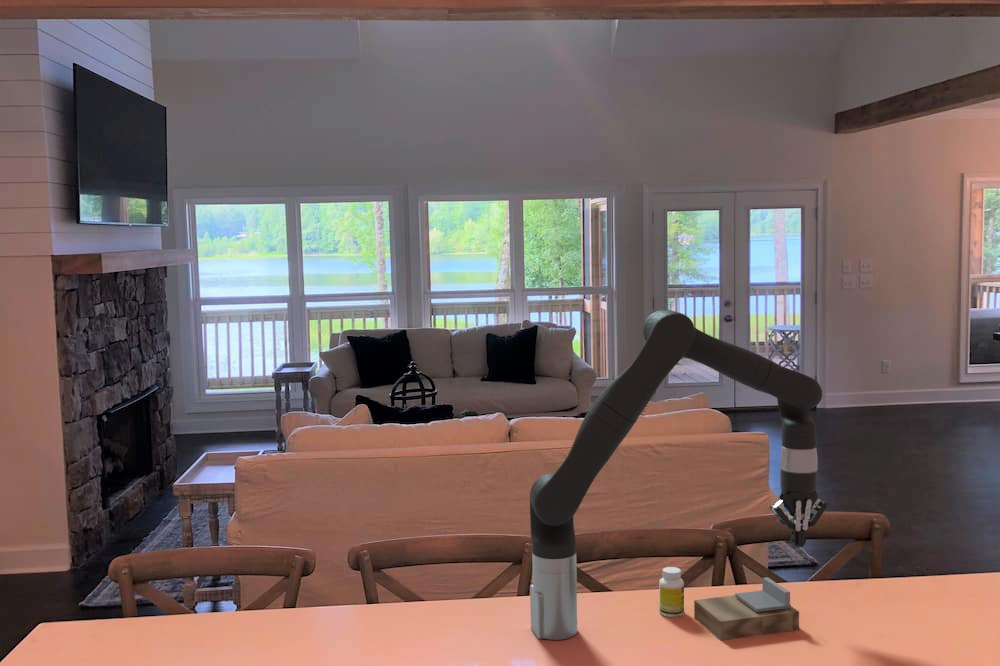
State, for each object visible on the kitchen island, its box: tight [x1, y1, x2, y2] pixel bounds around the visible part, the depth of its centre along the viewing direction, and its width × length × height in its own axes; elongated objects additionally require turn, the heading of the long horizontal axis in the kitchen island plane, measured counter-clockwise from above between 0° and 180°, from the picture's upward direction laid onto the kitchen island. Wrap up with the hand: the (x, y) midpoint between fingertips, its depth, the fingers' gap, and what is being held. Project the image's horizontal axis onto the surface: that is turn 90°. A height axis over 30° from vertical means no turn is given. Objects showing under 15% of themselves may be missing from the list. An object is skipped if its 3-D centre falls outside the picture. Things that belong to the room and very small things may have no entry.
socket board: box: [693, 595, 800, 641], centre depth 194 cm, size 18×12×4 cm, turn 104°
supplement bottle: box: [658, 566, 685, 618], centre depth 201 cm, size 5×5×10 cm
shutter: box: [735, 576, 792, 612], centre depth 195 cm, size 8×9×4 cm
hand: (798, 546), depth 196 cm, fingers closed
